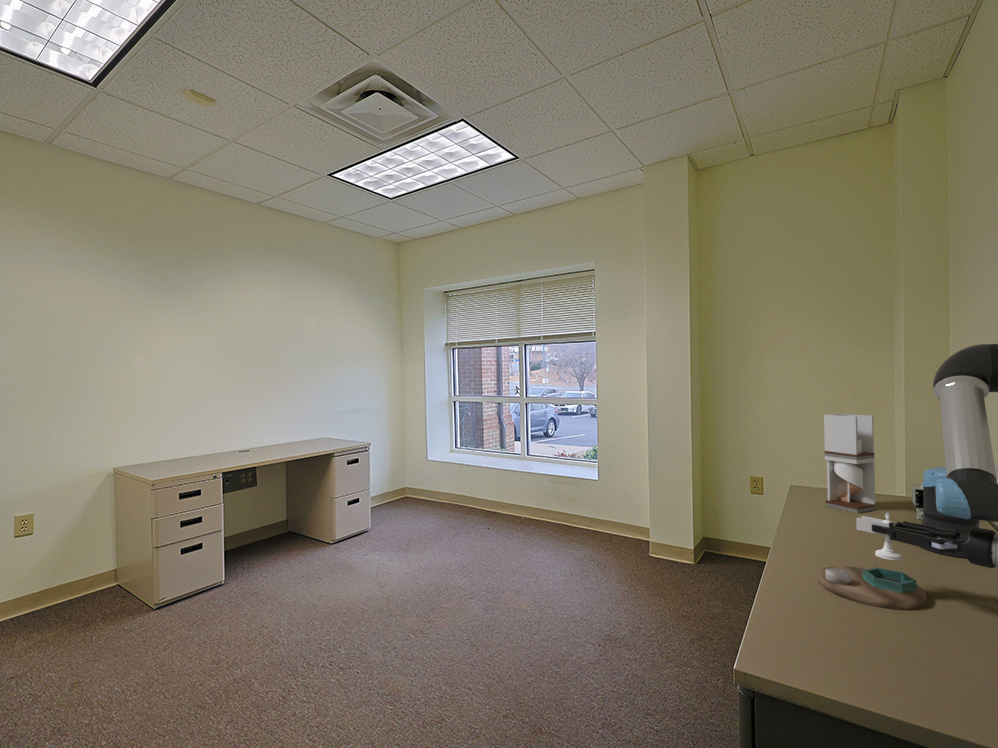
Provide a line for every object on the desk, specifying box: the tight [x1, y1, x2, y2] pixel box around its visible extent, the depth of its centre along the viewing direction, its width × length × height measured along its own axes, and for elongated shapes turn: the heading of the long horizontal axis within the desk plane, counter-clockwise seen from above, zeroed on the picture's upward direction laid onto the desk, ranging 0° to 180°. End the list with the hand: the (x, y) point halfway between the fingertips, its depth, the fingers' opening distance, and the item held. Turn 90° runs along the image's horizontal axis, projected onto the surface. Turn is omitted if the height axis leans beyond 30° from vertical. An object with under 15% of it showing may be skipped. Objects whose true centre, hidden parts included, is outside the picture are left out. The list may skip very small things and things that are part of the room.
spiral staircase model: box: [823, 413, 876, 514], centre depth 184 cm, size 11×11×35 cm
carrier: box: [817, 565, 928, 611], centre depth 113 cm, size 20×20×4 cm
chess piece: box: [874, 512, 903, 561], centre depth 112 cm, size 5×5×10 cm
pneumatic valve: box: [911, 483, 924, 521], centre depth 168 cm, size 6×12×12 cm, turn 145°
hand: (859, 522), depth 117 cm, fingers closed on chess piece, 2 cm apart
